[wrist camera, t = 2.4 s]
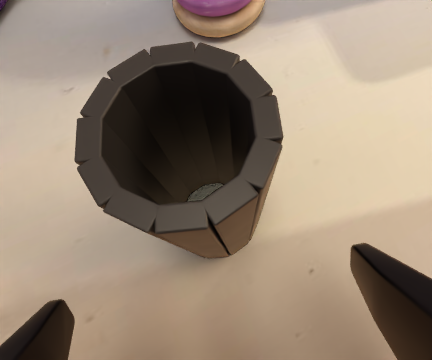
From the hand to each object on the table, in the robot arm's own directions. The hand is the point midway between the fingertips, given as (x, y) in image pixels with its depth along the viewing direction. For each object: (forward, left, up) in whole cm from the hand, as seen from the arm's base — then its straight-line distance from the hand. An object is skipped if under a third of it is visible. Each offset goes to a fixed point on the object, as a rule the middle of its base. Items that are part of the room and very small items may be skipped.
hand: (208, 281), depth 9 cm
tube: (+4, -2, -11) cm, 12 cm away
